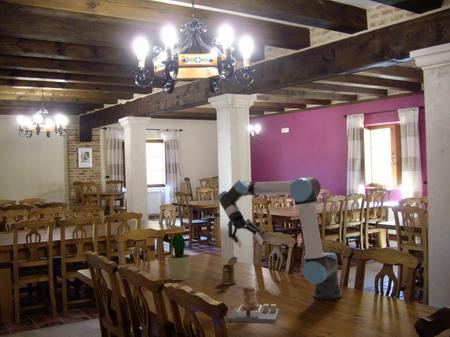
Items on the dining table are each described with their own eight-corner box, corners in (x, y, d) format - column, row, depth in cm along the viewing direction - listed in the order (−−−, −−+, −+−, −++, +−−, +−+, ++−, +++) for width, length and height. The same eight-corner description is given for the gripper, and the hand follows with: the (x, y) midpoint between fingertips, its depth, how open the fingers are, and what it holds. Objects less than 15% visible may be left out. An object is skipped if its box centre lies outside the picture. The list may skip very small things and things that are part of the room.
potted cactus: (193, 275, 322) (191, 230, 321) (189, 281, 306) (187, 234, 306) (170, 276, 323) (169, 231, 323) (165, 281, 308) (163, 234, 308)
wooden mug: (228, 287, 286) (227, 257, 286) (218, 283, 299) (217, 254, 298) (241, 285, 290) (240, 255, 290) (231, 281, 303) (230, 252, 302)
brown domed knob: (257, 311, 234) (256, 286, 234) (255, 315, 227) (254, 290, 227) (244, 310, 235) (243, 286, 235) (241, 315, 229) (240, 289, 229)
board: (279, 311, 236) (278, 302, 236) (275, 322, 221) (275, 312, 221) (235, 310, 241) (234, 301, 241) (228, 321, 225) (228, 311, 225)
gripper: (250, 217, 279) (267, 246, 266) (213, 221, 265) (229, 252, 253) (255, 208, 274) (272, 237, 262) (217, 212, 261) (234, 243, 248)
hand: (251, 244), depth 257 cm, fingers open, 13 cm apart
